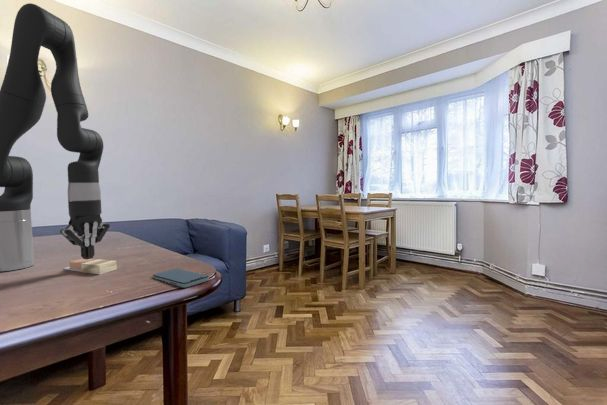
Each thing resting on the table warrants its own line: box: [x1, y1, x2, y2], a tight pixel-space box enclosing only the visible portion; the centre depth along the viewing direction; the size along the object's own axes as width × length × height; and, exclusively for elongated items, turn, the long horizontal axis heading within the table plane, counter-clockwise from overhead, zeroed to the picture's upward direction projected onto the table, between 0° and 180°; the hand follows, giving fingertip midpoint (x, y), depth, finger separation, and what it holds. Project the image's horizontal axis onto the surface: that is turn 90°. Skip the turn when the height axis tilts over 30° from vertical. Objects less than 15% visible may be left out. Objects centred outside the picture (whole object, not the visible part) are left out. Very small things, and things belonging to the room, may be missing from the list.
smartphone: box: [152, 268, 210, 289], centre depth 76 cm, size 8×2×15 cm
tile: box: [69, 258, 95, 270], centre depth 86 cm, size 5×4×2 cm
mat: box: [63, 266, 83, 273], centre depth 86 cm, size 8×4×1 cm, turn 72°
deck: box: [81, 258, 118, 275], centre depth 84 cm, size 7×5×2 cm
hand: (88, 258), depth 85 cm, fingers closed
